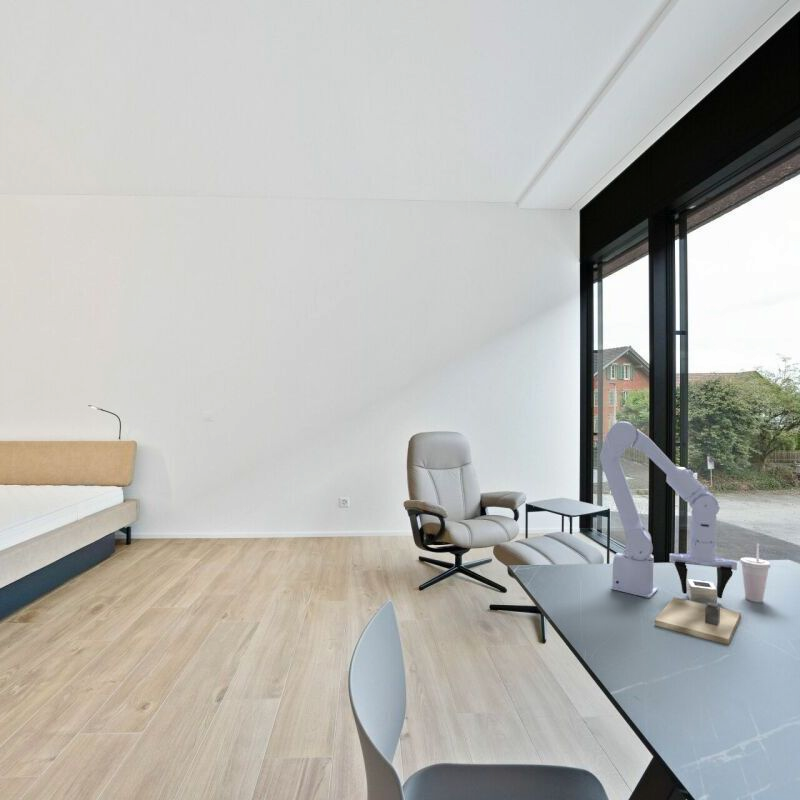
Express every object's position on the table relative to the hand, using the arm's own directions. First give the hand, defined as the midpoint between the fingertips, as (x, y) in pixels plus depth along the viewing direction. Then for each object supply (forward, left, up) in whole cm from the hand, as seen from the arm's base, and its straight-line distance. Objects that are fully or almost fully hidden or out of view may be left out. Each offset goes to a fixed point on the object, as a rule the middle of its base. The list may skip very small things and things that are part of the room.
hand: (701, 594), depth 133 cm
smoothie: (+10, +10, -2) cm, 14 cm away
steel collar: (0, 0, -1) cm, 1 cm away
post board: (+2, -15, -1) cm, 15 cm away
